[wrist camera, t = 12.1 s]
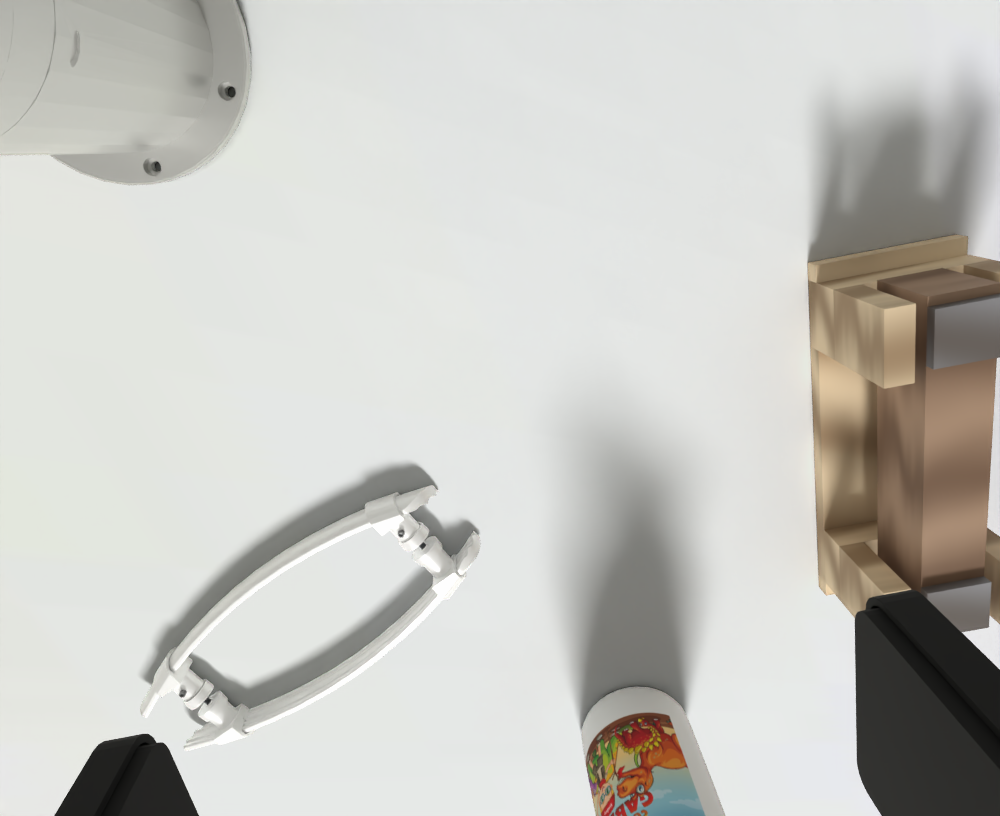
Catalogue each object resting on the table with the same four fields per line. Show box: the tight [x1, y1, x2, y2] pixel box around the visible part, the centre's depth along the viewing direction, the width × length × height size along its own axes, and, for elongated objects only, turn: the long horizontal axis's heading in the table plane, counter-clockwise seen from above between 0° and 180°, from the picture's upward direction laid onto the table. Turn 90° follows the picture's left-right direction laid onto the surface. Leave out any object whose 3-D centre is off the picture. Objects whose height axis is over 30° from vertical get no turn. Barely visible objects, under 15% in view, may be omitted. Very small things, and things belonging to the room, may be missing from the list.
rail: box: [877, 268, 1000, 632], centre depth 40 cm, size 20×4×5 cm, turn 10°
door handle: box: [140, 485, 480, 751], centre depth 47 cm, size 3×10×25 cm
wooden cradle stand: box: [808, 234, 1000, 624], centre depth 41 cm, size 22×8×8 cm, turn 10°
